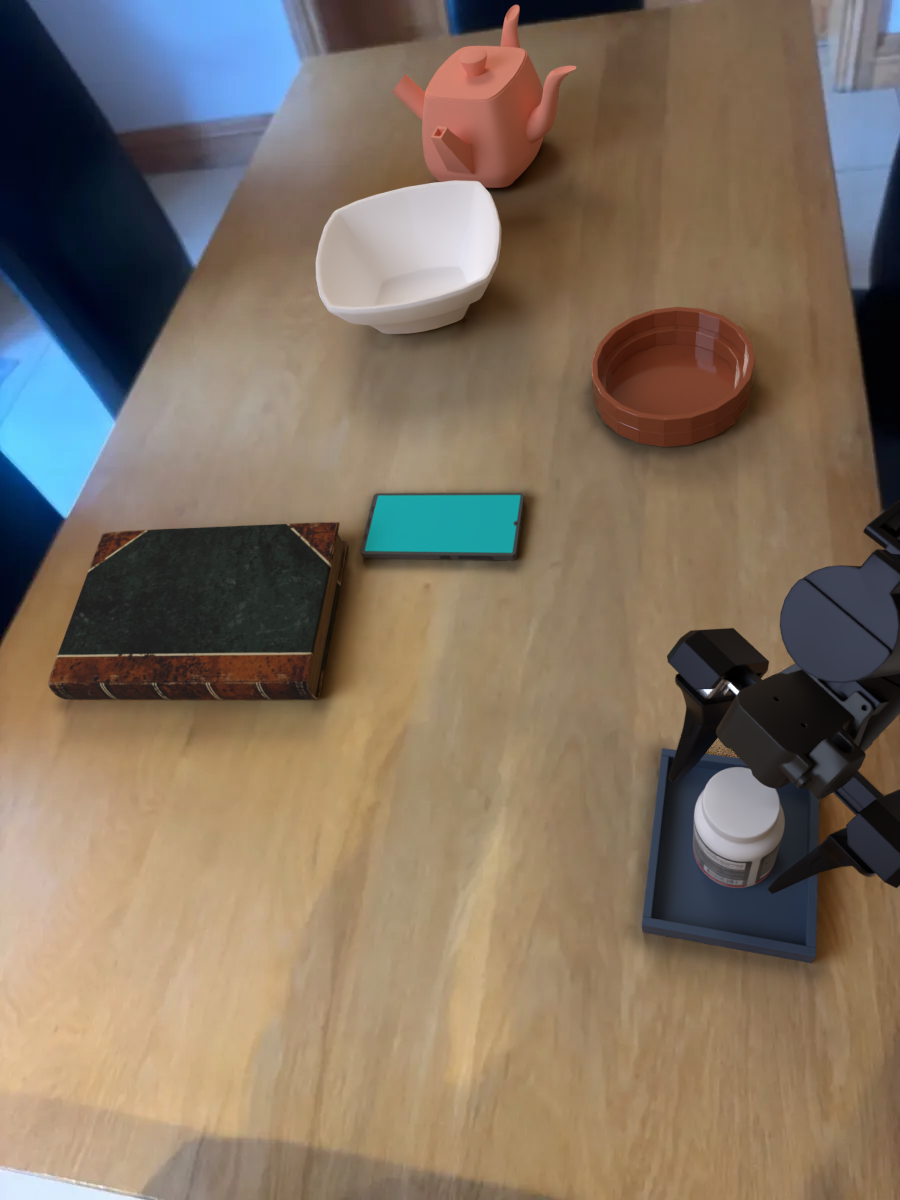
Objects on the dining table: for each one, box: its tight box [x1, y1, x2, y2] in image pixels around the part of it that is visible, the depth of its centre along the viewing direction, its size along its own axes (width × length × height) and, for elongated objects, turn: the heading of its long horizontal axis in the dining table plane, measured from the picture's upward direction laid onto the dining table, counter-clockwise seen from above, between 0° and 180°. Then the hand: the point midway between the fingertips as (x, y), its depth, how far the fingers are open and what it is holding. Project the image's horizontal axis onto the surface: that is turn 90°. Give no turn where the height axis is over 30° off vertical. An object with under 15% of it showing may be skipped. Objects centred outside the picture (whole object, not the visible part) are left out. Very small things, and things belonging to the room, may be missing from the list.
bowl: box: [315, 181, 502, 335], centre depth 102 cm, size 21×21×9 cm
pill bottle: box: [693, 767, 785, 888], centre depth 61 cm, size 6×6×10 cm
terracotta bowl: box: [590, 306, 756, 448], centre depth 89 cm, size 15×15×4 cm
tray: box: [641, 747, 820, 964], centre depth 65 cm, size 13×11×2 cm
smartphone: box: [359, 492, 526, 561], centre depth 87 cm, size 7×1×15 cm
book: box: [47, 521, 349, 701], centre depth 85 cm, size 17×4×25 cm
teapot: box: [392, 4, 577, 189], centre depth 113 cm, size 18×18×14 cm
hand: (721, 832), depth 60 cm, fingers open, 9 cm apart
